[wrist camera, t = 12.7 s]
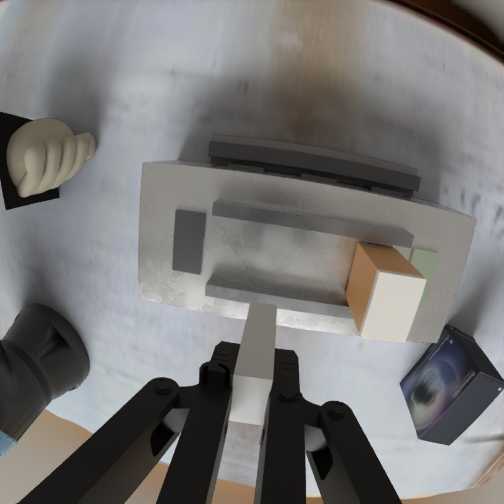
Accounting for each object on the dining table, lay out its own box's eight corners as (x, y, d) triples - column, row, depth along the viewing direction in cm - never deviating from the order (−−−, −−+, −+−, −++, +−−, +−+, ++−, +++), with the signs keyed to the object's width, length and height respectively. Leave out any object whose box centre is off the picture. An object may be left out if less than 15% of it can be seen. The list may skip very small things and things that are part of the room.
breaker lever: (345, 294, 24) (359, 338, 18) (357, 242, 23) (379, 271, 17) (381, 300, 24) (405, 342, 18) (395, 248, 23) (426, 279, 16)
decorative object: (98, 106, 32) (110, 182, 35) (31, 131, 31) (42, 203, 34) (56, 80, 20) (69, 187, 22) (-26, 121, 19) (-14, 218, 21)
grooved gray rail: (214, 163, 31) (207, 163, 28) (217, 135, 30) (211, 133, 27) (407, 195, 29) (416, 199, 27) (411, 168, 28) (421, 169, 26)
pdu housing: (169, 268, 35) (132, 304, 26) (177, 156, 31) (135, 157, 22) (411, 306, 32) (442, 351, 23) (439, 200, 29) (486, 217, 20)
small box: (444, 321, 32) (481, 370, 22) (473, 337, 33) (510, 383, 23) (396, 383, 36) (416, 440, 26) (428, 395, 36) (450, 447, 26)
